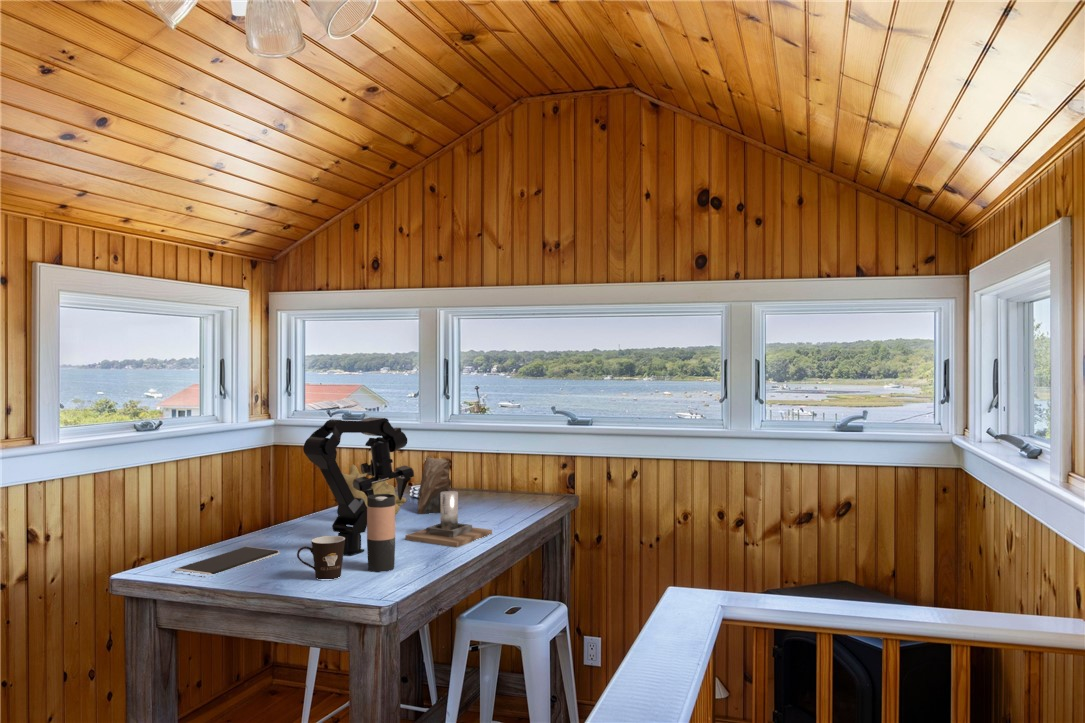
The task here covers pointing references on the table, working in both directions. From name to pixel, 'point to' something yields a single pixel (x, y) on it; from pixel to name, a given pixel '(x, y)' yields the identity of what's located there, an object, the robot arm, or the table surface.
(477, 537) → the brown flat square board
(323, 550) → the coffee mug
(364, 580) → the table surface
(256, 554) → the dark rectangular slab
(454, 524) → the steel cup
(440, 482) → the brown carved rock
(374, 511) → the travel mug
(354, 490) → the decorative coral
